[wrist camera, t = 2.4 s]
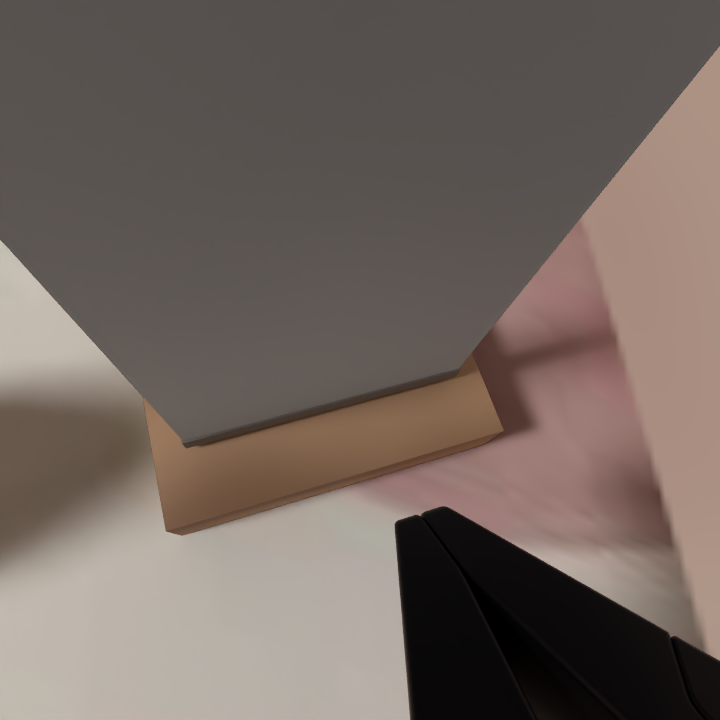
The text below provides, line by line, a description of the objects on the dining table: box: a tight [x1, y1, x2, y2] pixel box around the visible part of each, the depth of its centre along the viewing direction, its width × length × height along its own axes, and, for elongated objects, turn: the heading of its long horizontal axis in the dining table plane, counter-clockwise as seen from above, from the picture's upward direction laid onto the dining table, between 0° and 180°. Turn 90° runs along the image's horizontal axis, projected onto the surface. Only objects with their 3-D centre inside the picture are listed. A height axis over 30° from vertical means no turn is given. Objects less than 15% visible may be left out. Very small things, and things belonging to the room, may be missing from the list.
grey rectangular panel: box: [0, 0, 720, 448], centre depth 9 cm, size 1×8×14 cm, turn 107°
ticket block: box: [142, 353, 504, 536], centre depth 17 cm, size 10×10×2 cm
